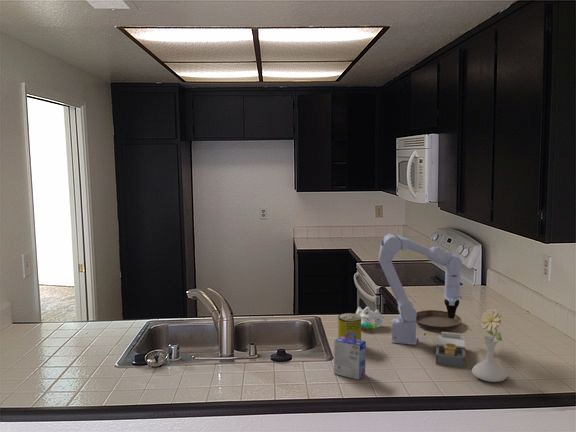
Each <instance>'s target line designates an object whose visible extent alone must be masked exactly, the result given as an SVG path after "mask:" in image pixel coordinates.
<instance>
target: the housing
mask: <svg viewBox="0 0 576 432" xmlns="http://www.w3.org/2000/svg"><path fill="white" fill-rule="evenodd" d="M465 348H466V347H465ZM465 348H457V347H456V350H455V356H452V355H445V349H444V346H437V345H436V349H435V365H441V366H450V367H458V368H465V367H466V353H465V352H466V351H465V350H466V349H465Z"/></svg>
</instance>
